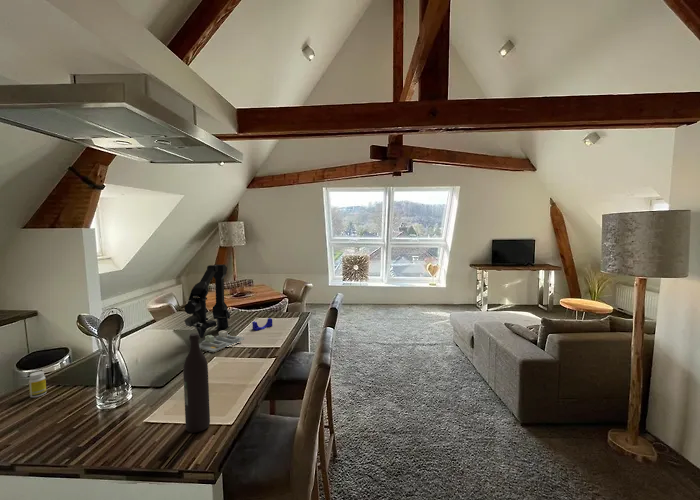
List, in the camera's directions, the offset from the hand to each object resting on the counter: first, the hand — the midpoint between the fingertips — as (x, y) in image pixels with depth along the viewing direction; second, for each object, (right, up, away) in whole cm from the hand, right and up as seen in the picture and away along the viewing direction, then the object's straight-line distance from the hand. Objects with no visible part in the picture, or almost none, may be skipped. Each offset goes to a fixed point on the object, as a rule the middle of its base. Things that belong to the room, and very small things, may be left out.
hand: (201, 337), depth 185 cm
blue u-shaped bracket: (+28, -2, +24) cm, 36 cm away
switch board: (+11, -3, -1) cm, 12 cm away
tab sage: (+6, -2, -3) cm, 7 cm away
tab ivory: (+10, -1, +5) cm, 11 cm away
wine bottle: (+33, -9, -77) cm, 84 cm away
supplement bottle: (-38, -8, -55) cm, 68 cm away
